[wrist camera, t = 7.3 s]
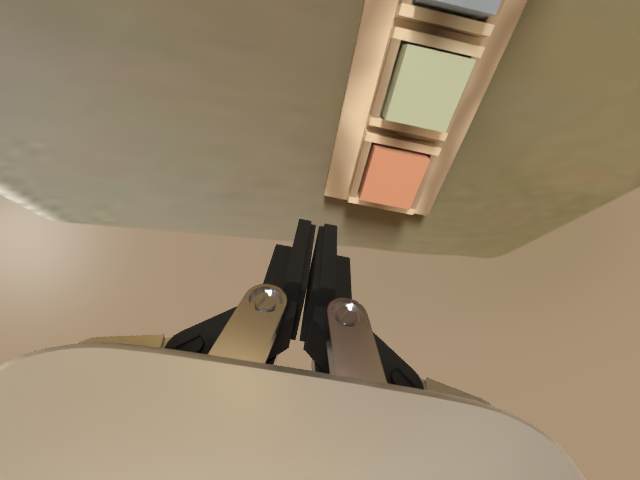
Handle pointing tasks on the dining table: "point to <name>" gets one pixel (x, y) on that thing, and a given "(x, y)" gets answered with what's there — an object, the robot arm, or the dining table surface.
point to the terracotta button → (392, 175)
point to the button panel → (374, 79)
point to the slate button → (465, 6)
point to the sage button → (426, 87)
